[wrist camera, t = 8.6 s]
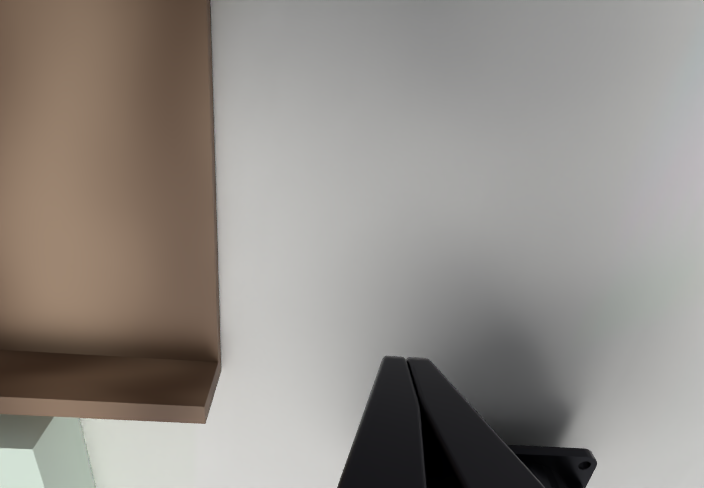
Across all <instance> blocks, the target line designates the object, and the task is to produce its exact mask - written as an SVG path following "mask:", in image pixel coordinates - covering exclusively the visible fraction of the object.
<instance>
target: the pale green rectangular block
mask: <svg viewBox="0 0 704 488" xmlns="http://www.w3.org/2000/svg"><path fill="white" fill-rule="evenodd" d="M0 488H96V486H95V482H94V477H93V473H92V469H91V465H90V460H89V456H88V452H87V448H86V443H85V439H84V435H83V431H82V426H81V422H80V418H73V417H51V416H30V415H9V414H0Z"/></svg>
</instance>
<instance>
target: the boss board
mask: <svg viewBox="0 0 704 488" xmlns="http://www.w3.org/2000/svg"><path fill="white" fill-rule="evenodd" d="M220 373H221V349H220V315H219V282H218V249H217V215H216V182H215V148H214V115H213V82H212V48H211V15H210V0H0V414H9V415H30V416H51V417H73V418H94V419H115V420H137V421H158V422H179V423H201V424H205V423H206V420H207V417H208V413H209V410H210V406H211V403H212V400H213V396H214V393H215V390H216V386H217V383H218V380H219V376H220Z"/></svg>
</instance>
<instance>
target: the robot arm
mask: <svg viewBox="0 0 704 488" xmlns="http://www.w3.org/2000/svg"><path fill="white" fill-rule="evenodd" d="M596 465H597V461H596V459H595V457H594V456H593V454H592V452H591V451H590V450H588V449H582V448H560V447H538V446H516V445H506V444H505V443H504V442H503V440H502V439H501V438H500V437H499V436H498V435H497V434H496V433H495V432H494V430H493V429H492V428H491V427H490V426H489V425H488V424H487V423H486V422H485V420H484V419H483V418H482V417H481V416H480V415H479V414H478V413H477V412H476V411H475V409H474V408H473V407H472V406H471V405H470V404H469V403H468V402H467V401H466V399H465V398H464V397H463V396H462V395H461V394H460V393H459V392H458V391H457V389H456V388H455V387H454V386H453V385H452V384H451V383H450V382H449V381H448V380H447V378H446V377H445V376H444V375H443V374H442V373H441V372H440V371H439V370H438V368H437V367H436V366H435V365H434V364H433V363H432V362H431V361H430V360H429V359H426V358H413V357H409V358H407V359H405V358H404V357H397V356H385V357H384V358H383V359H382V362H381V365H380V368H379V371H378V373H377V376H376V379H375V382H374V385H373V388H372V390H371V393H370V396H369V399H368V402H367V405H366V407H365V410H364V413H363V416H362V419H361V422H360V424H359V427H358V430H357V433H356V436H355V439H354V441H353V444H352V447H351V450H350V453H349V456H348V458H347V461H346V464H345V467H344V470H343V473H342V475H341V478H340V481H339V484H338V487H337V488H585V487H586V485H587V483H588V482H589V480H590V478H591V476H592V474H593V472H594V470H595V468H596Z"/></svg>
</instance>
